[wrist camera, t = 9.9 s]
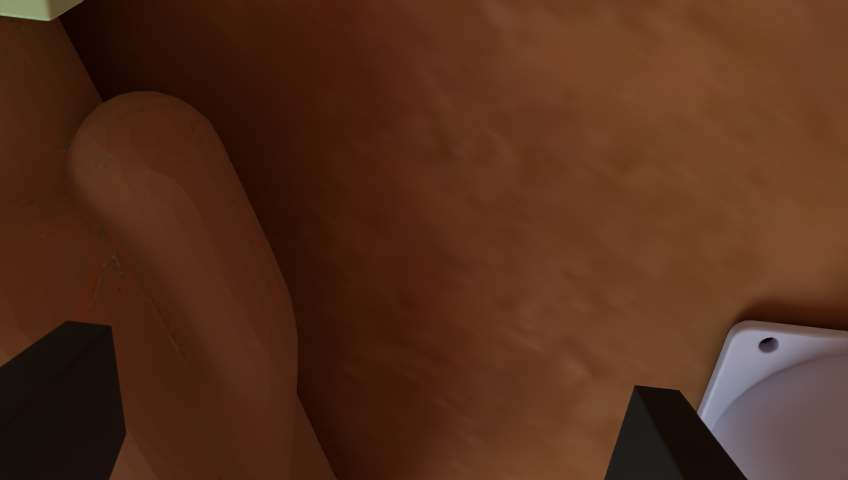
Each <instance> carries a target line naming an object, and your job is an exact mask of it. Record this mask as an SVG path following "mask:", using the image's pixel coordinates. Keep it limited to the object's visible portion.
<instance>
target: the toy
mask: <svg viewBox="0 0 848 480" xmlns="http://www.w3.org/2000/svg"><path fill="white" fill-rule="evenodd" d="M66 321H75V322H84V323H93V324H102V325H111V326H112V333H113V340H114V347H115V354H116V362H117V369H118V376H119V383H120V390H121V398H122V405H123V412H124V419H125V427H126V436H125V439H124V442H123V444H122V447H121V450H120V453H119V455H118V458H117V461H116V463H115V466H114V469H113V472H112V474H111V477H110V479H109V480H337V479H336V477H335V475H334V472H333V470H332V468H331V466H330V464H329V462H328V460H327V458H326V456H325V454H324V452H323V450H322V448H321V445H320V443H319V441H318V439H317V437H316V434H315V432H314V430H313V428H312V426H311V423H310V421H309V419H308V417H307V415H306V413H305V410H304V408H303V406H302V404H301V402H300V399H299V397H298V395H297V393H296V391H297V376H298V333H297V327H296V321H295V316H294V310H293V305H292V299H291V296H290V294H289V291H288V288H287V286H286V283H285V281H284V278H283V276H282V273H281V271H280V269H279V266H278V264H277V261H276V259H275V256H274V254H273V252H272V249H271V247H270V244H269V242H268V240H267V238H266V236H265V234H264V232H263V229H262V227H261V225H260V223H259V221H258V219H257V217H256V214H255V212H254V210H253V208H252V206H251V204H250V202H249V199H248V197H247V195H246V193H245V191H244V189H243V187H242V184H241V182H240V180H239V178H238V176H237V174H236V172H235V169H234V167H233V165H232V163H231V161H230V159H229V157H228V154H227V152H226V150H225V148H224V146H223V144H222V142H221V139H220V137H219V136H218V134H217V132H216V131H215V129H214V128H213V126H212V124H211V123H210V121H209V120H208V119H207V118H206V117H204V116H203V115H202V114H201V113H200V112H198V111H197V110H196V109H195V108H194V107H193V106H191V105H190V104H188V103H186V102H184V101H182V100H180V99H179V98H177V97H174V96H171V95H167V94H163V93H160V92H156V91H135V92H130V93H126V94H122V95H117V96H116V97H114V98H112V99H110V100H108V101H106V102H104V103H103V102H102V100H101V98H100V96H99V94H98V92H97V90H96V88H95V86H94V84H93V83H92V81H91V79H90V77H89V75H88V73H87V71H86V69H85V67H84V65H83V63H82V62H81V60H80V58H79V56H78V54H77V52H76V50H75V48H74V46H73V44H72V43H71V41H70V39H69V37H68V35H67V33H66V31H65V29H64V27H63V25H62V23H61V22H60V20H59V18H58V17H56V18H54V19H53V20H50V21H44V20H36V19H27V18H18V17H10V16H0V367H1V366H3V365H4V364H5V363H7V362H8V361H10V360H11V359H12V358H14V357H15V356H17V355H18V354H19V353H21V352H22V351H24V350H25V349H27V348H28V347H29V346H31V345H32V344H34V343H35V342H36V341H38V340H39V339H41V338H42V337H44V336H45V335H46V334H48V333H49V332H51V331H52V330H54V329H55V328H57V327H58V326H60V325H61V324H63V323H64V322H66Z"/></svg>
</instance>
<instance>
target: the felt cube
mask: <svg viewBox="0 0 848 480" xmlns="http://www.w3.org/2000/svg"><path fill="white" fill-rule="evenodd" d="M82 1H84V0H0V15H1V16H10V17H18V18H27V19H36V20H44V21H50V20H53V19H54V18H56V17H58V16H59V15H61V14H63V13H64V12H66V11H67V10H69V9H71V8H72V7H74V6H76V5H77V4H79V3H81V2H82Z"/></svg>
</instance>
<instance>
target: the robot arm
mask: <svg viewBox="0 0 848 480" xmlns="http://www.w3.org/2000/svg"><path fill="white" fill-rule="evenodd" d="M770 337H773V339H772V340H771V341H769V342H767V343H760V342H761V341H762V340H763V339H765V338H770ZM125 436H126V427H125V419H124V412H123V405H122V398H121V390H120V383H119V376H118V369H117V362H116V354H115V347H114V340H113V333H112V326H111V325H102V324H93V323H84V322H75V321H66V322H64V323H63V324H61V325H60V326H58V327H57V328H55V329H54V330H52V331H51V332H49V333H48V334H46V335H45V336H44V337H42V338H41V339H39V340H38V341H36V342H35V343H34V344H32V345H31V346H29V347H28V348H27V349H25V350H24V351H22V352H21V353H19V354H18V355H17V356H15V357H14V358H12V359H11V360H10V361H8V362H7V363H5V364H4V365H3V366H1V367H0V480H109V479H110V477H111V474H112V472H113V469H114V466H115V463H116V461H117V458H118V455H119V453H120V450H121V447H122V444H123V442H124V439H125ZM604 480H848V331H842V330H833V329H824V328H815V327H806V326H798V325H789V324H780V323H771V322H762V321H754V320H750V321H743V322H740V323H737V324H736V325H735V326H733V327H732V328H731V330H730V331H729V333H728V335H727V338H726V340H725V343H724V345H723V348H722V350H721V353H720V355H719V358H718V361H717V363H716V366H715V368H714V371H713V373H712V376H711V378H710V381H709V384H708V386H707V389H706V391H705V394H704V396H703V399H702V401H701V404H700V407H699V409H698V412H697V413H696V412H695V410H694V409H693V408H692V406H691V405H690V404H689V402H688V401H687V400H686V398H685V397H684V396H683V395H682V393H681V392H680V391H679V390H672V389H663V388H654V387H646V386H637V385H635V387H634V390H633V393H632V396H631V399H630V402H629V405H628V408H627V411H626V414H625V417H624V420H623V423H622V426H621V430H620V433H619V436H618V439H617V442H616V445H615V448H614V451H613V454H612V457H611V460H610V463H609V466H608V469H607V473H606V476H605V479H604Z"/></svg>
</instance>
